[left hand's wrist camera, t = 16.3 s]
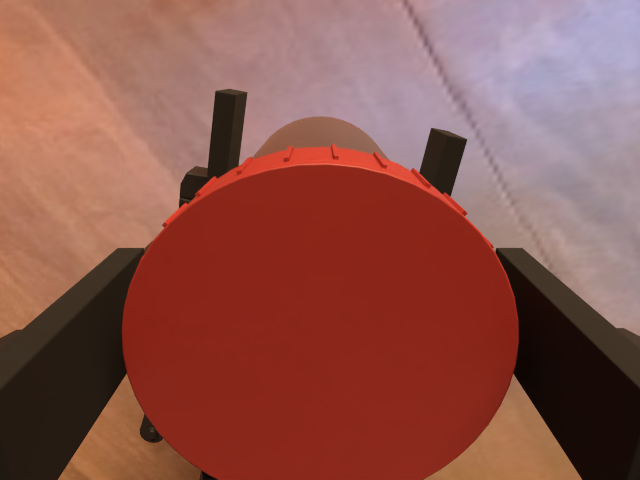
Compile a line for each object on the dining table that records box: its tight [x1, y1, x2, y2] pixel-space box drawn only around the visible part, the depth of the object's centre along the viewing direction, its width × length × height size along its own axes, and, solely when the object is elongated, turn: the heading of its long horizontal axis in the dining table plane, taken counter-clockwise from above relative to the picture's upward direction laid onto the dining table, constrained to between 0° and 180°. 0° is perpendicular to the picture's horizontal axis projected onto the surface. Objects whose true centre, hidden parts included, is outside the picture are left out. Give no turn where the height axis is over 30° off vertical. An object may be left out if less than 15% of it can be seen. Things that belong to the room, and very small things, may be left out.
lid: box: [122, 144, 519, 480], centre depth 11 cm, size 9×9×2 cm
